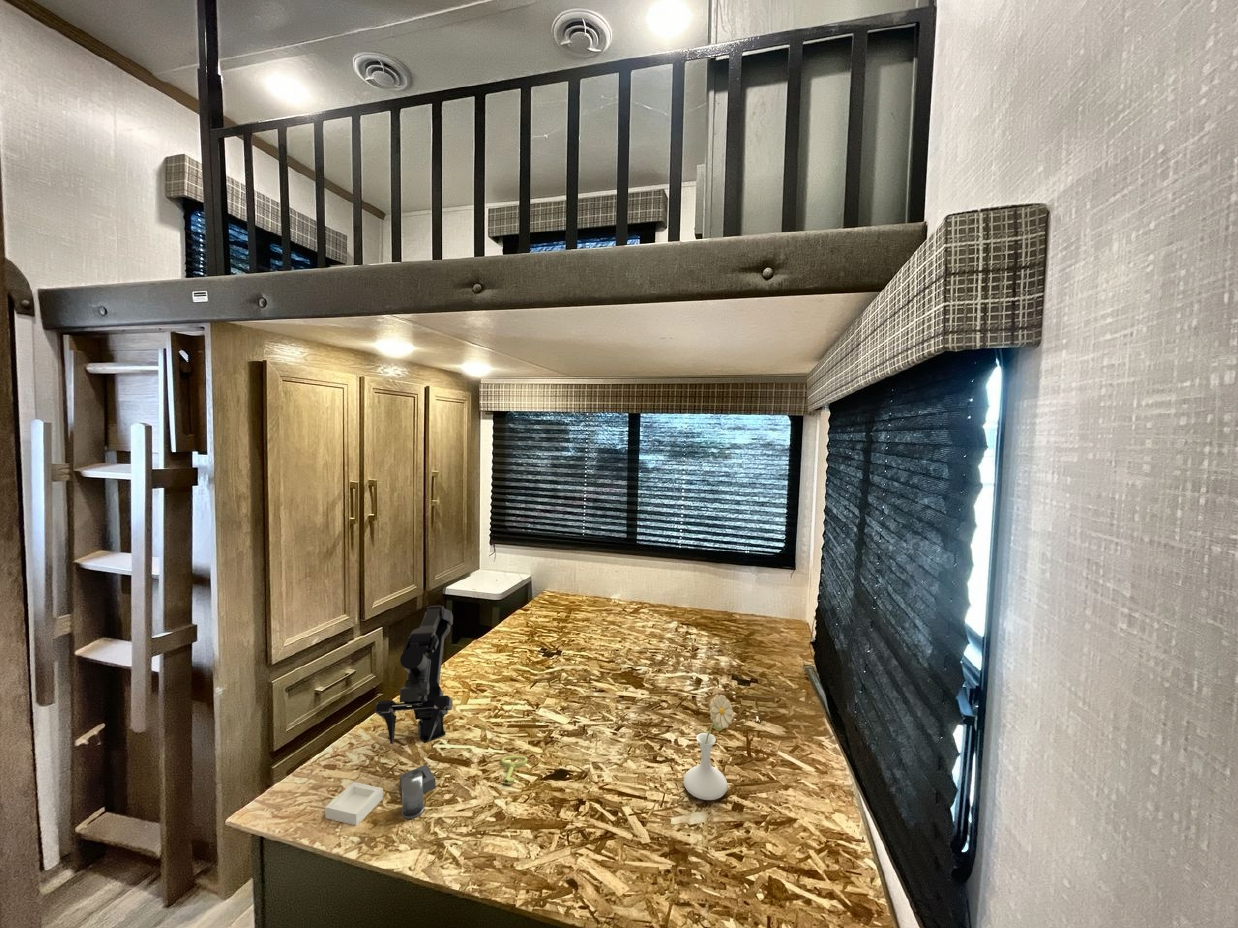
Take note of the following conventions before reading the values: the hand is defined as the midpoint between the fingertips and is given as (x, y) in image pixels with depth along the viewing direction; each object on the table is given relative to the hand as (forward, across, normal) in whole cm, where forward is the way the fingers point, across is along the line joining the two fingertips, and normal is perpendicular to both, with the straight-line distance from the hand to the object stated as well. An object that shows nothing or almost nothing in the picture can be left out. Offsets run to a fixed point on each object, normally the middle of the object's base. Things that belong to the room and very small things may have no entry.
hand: (410, 741), depth 130 cm
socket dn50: (+13, -12, +5) cm, 19 cm away
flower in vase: (+18, +76, 0) cm, 78 cm away
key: (+8, +25, +12) cm, 29 cm away
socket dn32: (+9, +1, +10) cm, 13 cm away
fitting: (+15, +2, +3) cm, 15 cm away
